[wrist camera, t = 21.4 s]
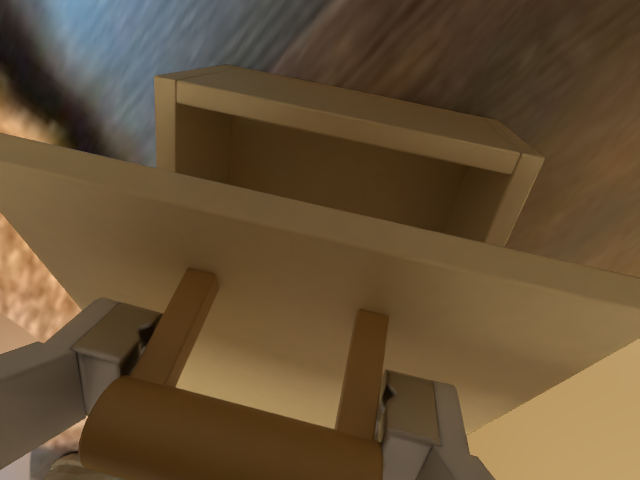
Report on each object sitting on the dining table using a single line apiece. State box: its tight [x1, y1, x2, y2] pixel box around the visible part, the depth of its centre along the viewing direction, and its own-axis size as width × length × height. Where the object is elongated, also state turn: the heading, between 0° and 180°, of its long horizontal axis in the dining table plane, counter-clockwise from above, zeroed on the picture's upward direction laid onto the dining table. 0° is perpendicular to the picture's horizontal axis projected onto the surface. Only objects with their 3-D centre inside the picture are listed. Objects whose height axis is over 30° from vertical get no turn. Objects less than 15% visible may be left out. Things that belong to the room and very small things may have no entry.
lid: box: [0, 133, 640, 480], centre depth 13 cm, size 16×14×5 cm
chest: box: [154, 64, 544, 247], centre depth 20 cm, size 16×14×7 cm
